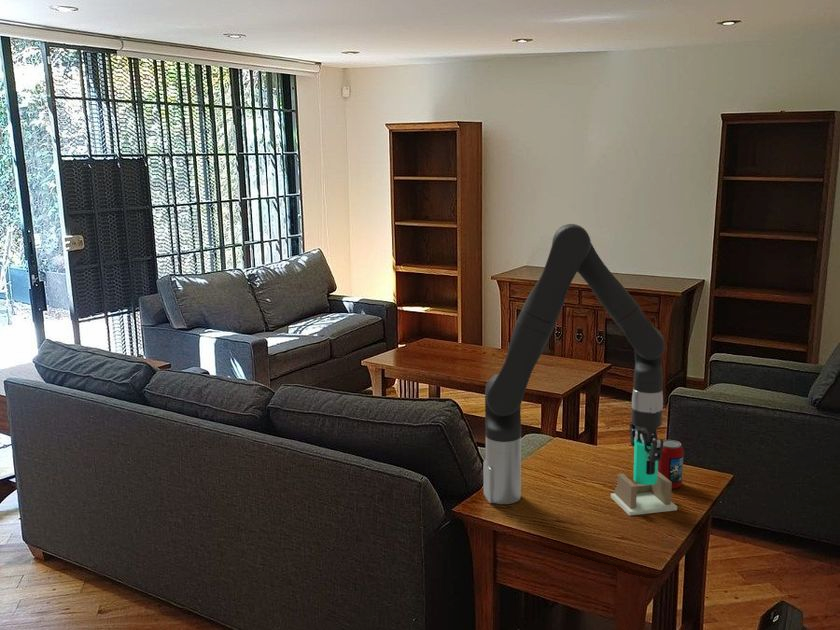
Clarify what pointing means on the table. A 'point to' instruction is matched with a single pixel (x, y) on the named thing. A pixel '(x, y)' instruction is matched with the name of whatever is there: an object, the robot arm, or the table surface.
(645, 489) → the holder
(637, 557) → the table surface
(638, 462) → the candle
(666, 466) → the beverage can
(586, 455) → the table surface
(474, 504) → the table surface
